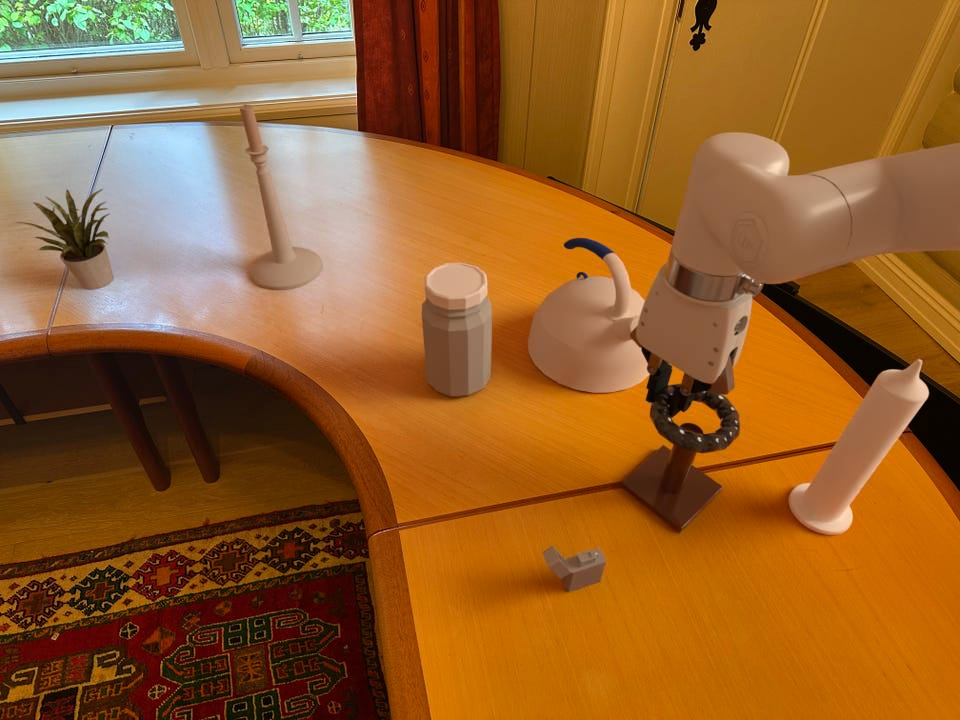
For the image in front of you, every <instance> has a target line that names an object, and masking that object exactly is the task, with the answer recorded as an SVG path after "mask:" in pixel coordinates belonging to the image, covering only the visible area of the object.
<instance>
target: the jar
mask: <svg viewBox="0 0 960 720" xmlns="http://www.w3.org/2000/svg"><path fill="white" fill-rule="evenodd" d="M424 295H425V300H424V301H423V302H422V303H421V323H422V325H421V326H422V336H423V350H424V362H425V376H426V381H427V382H428V383H429V385H430V386H431V387H432V389H434V390H435V391H436V392H438V393H440V394H443V395H445V396H448V397H451V398H462V397H463V398H465V397H469V396H471V395H473V394H475V393H477V392H480V391H481V390H483V389H484V388H485V386H487V383H488V382H489V380H490V379H491V377H492V341H493V339H492V338H493V334H492V333H493V329H492V328H493V309H492V302H491V300H490V299H488V277H487V274H486V273H485V271H483V270H482V269H481V268H479V267H478V266H477V265H473V264H469V263H466V262H446V263H443V264H440V265H438V266H435V267H432V269H430V270H429V272H427V273H426V275H425V276H424Z"/></svg>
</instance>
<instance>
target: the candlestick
mask: <svg viewBox="0 0 960 720" xmlns="http://www.w3.org/2000/svg"><path fill="white" fill-rule="evenodd" d="M239 112H240V116H241V119H242V123H243V127H244V130H245V135H246V138H247V142H248V147H247V148H245V150H244V152H245V153H246V154H247V155H249V156H250V161H251V163H253V164H254V166H255V167H256V171H255V175H256V177H257V183H258V187H259V192H260V197H261V203H262V207H263V211H264V212H263V213H264V216H265V221H266V225H267V230H268V231H267V232H268V236H269V240H270V246H271V250H270V251H268V252H266V253H264V254H263V255H261V256H259V258H258V259H257V260H255V262H254V263H253V264H252V265H251V268H250V275H251V279H252V281H253V282H254V283H255V284H256V285H257V286H259V287H262V288H264V289H267V290H274V291H275V290H276V291H285V290H291V289H297V288H299V287H302V286H305V285H307V284H310V283H311V282H313V281H314V280H315V279H316V278H317V277H319V276H320V274H321V272H322V270H323V269H324V268H323V266H324V264H323V259H322V257H321V256H320V255H319V254H318V253H316V252H315V251H313V250H311V249H308V248H305V247H300V246H293V245H292V243H291V239H290V236H289V233H288V229H287V226H286V223H285V220H284V217H283V213H282V210H281V206H280V204H279V200H278V197H277V194H276V191H275V187H274V184H273V180H272V177H271V174H270V169H268V167H267V161H268V159H269V157H268V155H267V152H268V151H269V149H270V148H269V146H267V145H265V144H263V142H262V138H261V133H260V130H259V125H258V122H257V116H256V114H255V110H254V106H253V105H252V104H244V105H240V106H239Z"/></svg>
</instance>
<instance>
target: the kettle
mask: <svg viewBox="0 0 960 720" xmlns="http://www.w3.org/2000/svg"><path fill="white" fill-rule="evenodd" d="M563 247H564V248H565V249H566V250H574V249H576V248H581V249H585V250H587V251H589V252H592V253H593V254H595V255H596V256H597V257H598V258H600V259H601V260H602V261H603V262H604V263H605V265H606V266H607V268H608V269H609V272H610V275H611V277H606V276H601V275H592V276H591V275H590V276H589V275H588V273H586V272H584V271H579V272H578V273H577V274H576V278H574V279H571V280H569V281H566V282H564V283H562V284H561V285H560V286H559V287H557V288H556V289H554V290H553V291H551V292H550V293H549V294H547V295H546V296H545V298H544V299H543V300H542V302H541V303H540V305H539V306H538V308H537V309H536V310H535V312H534V314H533V318H532V321H531V326H530V330H529V334H528V339H527V350H528V355H529V357H530V358H531V360H532V362H533V364H534V365H535V367H537V368H538V370H540V371H541V372H542V374H544V376H546V377H548V378H549V379H551V380H553V381H554V382H556V383H557V384H559V385H562V386H564V387H567V388H570V389H573V390H576V391H581V392H588V393H599V394H600V393H615V392H618V391H624V390H627V389H628V390H629V389H630V388H632V387H634V386H636V385H639V384H640V383H642V382H643V381H644V380H645V379H647V377H649V376H650V374H649V373H648V371H647V365H648V363H647V361H646V359H645V357H644V355H643V353H642V351H641V349H642V348H641V347H640V348H639V346H638V345H637V344H636V343H635V342H634V341H633V340H632V338H631V337H630V333H631V332H632V331H633V330H634V329H635V328H636V327H637V325H638V321H639V318H640V314H641V311H642V308H643V305H644V302H645V299H644V298H643V297H642V296H641V294H640V293H639V292H638V291H636V290H635V289H634V288H632V285H631V282H630V277H629V273H628V271H627V269H626V267H625V264H624V263H623V261H622V260H621V258H620V257H619V256H618V255H617V254H616V252H615V251H614V250H612V249H610V248H609V247H608V246H607V245H605V244H603V243H601V242H599V241H596V240H594V239H591V238H587V237H575V238H570V239H568V240H567V241H565V242H563ZM581 276H582V277H581Z"/></svg>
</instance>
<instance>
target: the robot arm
mask: <svg viewBox="0 0 960 720" xmlns="http://www.w3.org/2000/svg"><path fill="white" fill-rule="evenodd" d="M789 171H790V157H789V154H788V152H787V150H786V149H785V148H784V147H783V146H782V145H781V144H780V143H778V142H777V141H775V140H773V139H770V138H769V137H765V136H762V135H760V134H755V133H749V132H741V131H740V132H738V131H731V132H729V131H728V132H721V133H718V134H714V135H711V136H710V137H708V138H706V139H705V140H704V141H703V142H702V143H701V144H699V146H698V148H697V150H696V152H695V154H694V157H693V161H692V164H691V168H690V173H689V175H688V180H687V183H686V187H685V190H684V196H683V200H682V203H681V206H680V207H681V208H680V211H679V215H678V219H677V222H676V226H675V230H674V235H673V239H672V243H671V246H670V249H669V255H668V257H667V262H666V263H664V264H663V265H662V266H661V267H660V269H659V270H658V272H657V273H656V276H655V278H654V280H653V282H652V284H651V286H650V288H649V290H648V293H647V295H646V298H645V299H644V301H645V302H644V305H643V308H642V311H641V314H640V318H639V321H638V325H637V327H636V328H635V329H634V330H633V331H632V332H631V333H630V337H631V338H632V340H633V341H634V342H635V343H636V344H637V345H638V346H639V348H640V347H641V348H642V349H641V351H642V353H643V355H644V357H645V359H646V361H647V363H648V365H647V371H648V373H649V375H648V379H647V384H646V390H647V393H646V397H645V402H647V403H648V404H651V402H652V398H653V397H654V396H655V395H656V394H657V393H658V392H660V391H661V390H662V389H663V388H665V387H666V386H668V385H669V383H670V379H671V376H672V373H673V367H675V368H676V369H678V370H679V371H681V372H682V373H683V376H682V379H681V382H680V383H681V385H680V387H678V388H677V389H676V390H675V391H674V393H673V396H672V399H671V402H670V405H669V415H670V416H671V418H672V419H673V418H674V417H675V416H677V415H678V414H679V413H680V412H682V413H685V412H687V411H688V410H689V409H690V407H692V404H693V402H694V401H693V398H694V395H695V393H699V392H705V391H708V390H709V391H712V392H715V393H720V394H722V395H723V396H726V395H728V394H730V393H731V392H732V391H733V390H734V389H735V386H736V385H735V375H734V369H733V368H734V367H735V366H736V364H737V363H738V362H739V359H740V355H741V353H742V351H743V347H744V342H745V340H746V337H747V332H748V329H749V324H750V320H751V315H752V306H753V297H756V298H757V296H759V295H760V293H761V291H762V290H763V288H764V284H766V285H777V284H778V285H780V284H784V283H788V282H792V281H795V280H799V279H802V278H805V277H809V276H811V275H815V274H818V273H820V272H824V271H826V270H829V269H834V268H836V267H839V266H843V265H846V264H850V263H853V262H856V261H859V260H863V259H866V258H871V257H874V256H880V255H887V254H897V253H914V252H917V253H918V252H940V251H941V252H944V251H945V252H946V251H948V252H949V251H954V252H955V251H960V142H955V143H950V144H945V145H941V146H936V147H935V146H934V147H930V148H925V149H924V148H923V149H919V150H914V151H909V152H903V153H898V154H893V155H887V156H881V157H875V158H872V159H866V160H861V161H860V160H859V161H855V162H852V163H846V164H842V165H837V166H832V167H828V168H825V169H821V170H816V171H812V172H808V173H804V174H797V175H789Z"/></svg>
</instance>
